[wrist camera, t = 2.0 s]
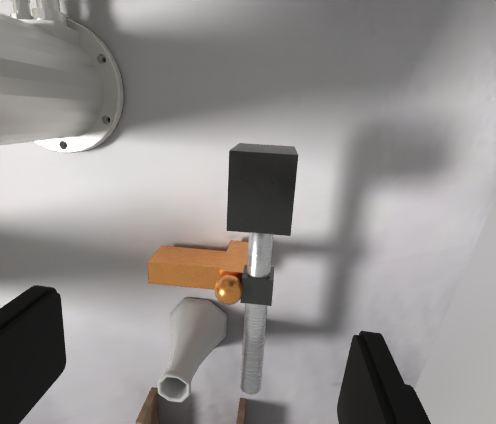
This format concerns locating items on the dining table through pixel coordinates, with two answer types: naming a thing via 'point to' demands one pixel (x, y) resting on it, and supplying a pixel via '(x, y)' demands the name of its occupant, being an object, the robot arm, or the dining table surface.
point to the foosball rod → (242, 246)
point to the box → (150, 418)
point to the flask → (190, 344)
